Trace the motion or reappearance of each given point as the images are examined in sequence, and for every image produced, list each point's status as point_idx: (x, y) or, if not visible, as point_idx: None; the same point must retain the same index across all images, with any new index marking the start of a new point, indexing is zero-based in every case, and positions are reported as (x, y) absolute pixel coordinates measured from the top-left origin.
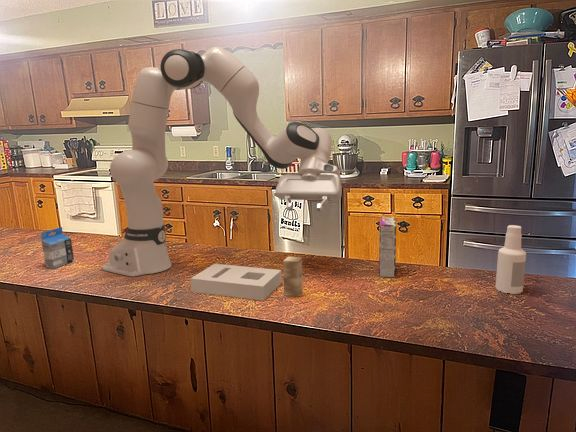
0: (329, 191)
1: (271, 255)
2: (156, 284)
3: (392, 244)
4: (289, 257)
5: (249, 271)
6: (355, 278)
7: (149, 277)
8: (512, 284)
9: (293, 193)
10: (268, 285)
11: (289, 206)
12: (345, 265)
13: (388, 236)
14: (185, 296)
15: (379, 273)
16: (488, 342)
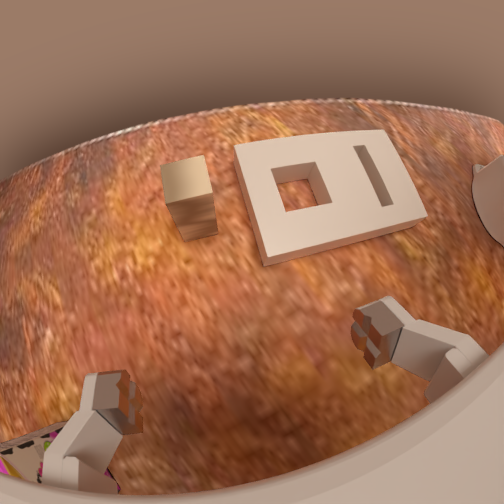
0: (4, 497)
1: None
2: (433, 153)
3: (14, 439)
4: (203, 186)
5: (331, 206)
6: None
7: (462, 173)
8: None
9: (446, 393)
10: (241, 175)
11: (372, 309)
12: (192, 471)
13: (6, 443)
14: (362, 129)
15: None
16: None
